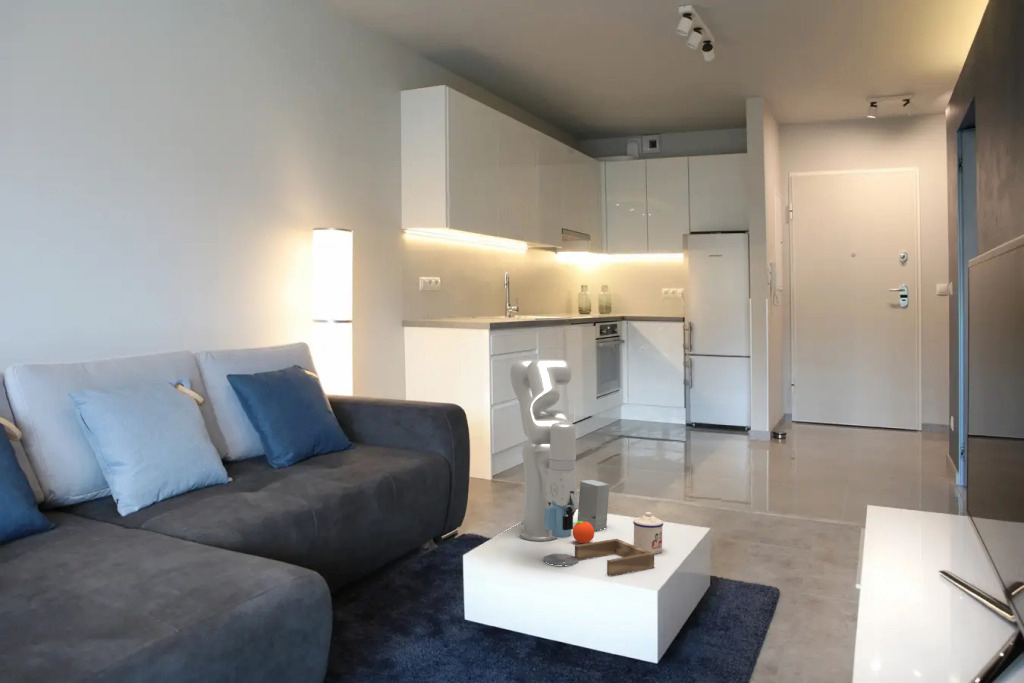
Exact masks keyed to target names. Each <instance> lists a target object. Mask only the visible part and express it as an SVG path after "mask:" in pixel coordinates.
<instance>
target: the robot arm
mask: <svg viewBox="0 0 1024 683" xmlns="http://www.w3.org/2000/svg"><path fill="white" fill-rule="evenodd" d="M509 371H510V376H509V377H510V383H511V387H512V390H513V392H514V394H515V396H516V398H517V400H518V404H519V409H520V417H521V424H522V430H523V433H524V435H525V436H526V438H528V441H526V442H525V443H524V444H523V446H522V448H521V449H522V450H521V456H522V461H523V463H522V464H523V471H524V473H523V474H524V504H523V505H524V507H523V508H524V510H523V511H524V512H523V516H524V517H523V519H521V520H520V524H521V525H523V528H522V529H520V530H519V532H518V536H519V538H522V539H523V540H528V541H535V542H546V541H552V540H555V539H558V537H554V536H552V530H549V531H548V530H546V529H544V523H545V508H551V507H552V501H554V502H556V505H558V506H561V507H563V510H564V516H563V530H571V531H572V530H573V528H574V524H573V523H574V516H575V513H576V511H578V507H579V502H578V501H577V499H578V488H577V486H578V484H577V476H576V459H577V453H576V442H577V441H576V438H577V437H576V435H577V434H576V432H577V430H576V426H575V424H574V423H572V421H571V420H570V417H569V414H567V413H566V412H565V411H564V410H560V409H554V410H553V409H551V410H550V409H549V408H552V407H554V406H555V405H556V404H557V403H558V401H560V399H561V398H560V397H561V396H560V394H561V393H560V391H559V387H558V386H562V385H564V386H566V385H569V383H570V382H571V380H572V368H571V366H570V363H569V362H568V361H567V360H565V359H562V358H560V359H558V358H557V359H556V358H555V359H553V358H552V359H551V358H547V359H546V358H539V359H537V358H536V359H534V358H533V359H531V358H529V359H527V358H526V359H520V360H516V361H514V362H513V363H512V364H511V366H510V370H509ZM568 503H570V505H567V504H568ZM567 507H569V510H568V511H567Z"/></svg>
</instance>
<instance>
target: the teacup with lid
mask: <svg viewBox="0 0 1024 683" xmlns="http://www.w3.org/2000/svg"><path fill="white" fill-rule="evenodd" d="M632 522H633V523H632V524H633V545H634V546H636V547H639V548H641V549H644V550H646V551H649V552H651V553H654V555H657V554H660V553H662V550H663V526H664V522H663V520H662V519H659V518H657V517H655V516H654V515H653V514H652V512H650V511H647V512H645V513H644V515H641V516H639V517H637V518H636V517H635V518H634V519H633V521H632Z"/></svg>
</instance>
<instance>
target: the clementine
mask: <svg viewBox="0 0 1024 683" xmlns="http://www.w3.org/2000/svg"><path fill="white" fill-rule="evenodd" d="M572 536H573V538H574V540H575V541H576V542H577V543H579V544H587V543H591V541H592V540H593V538H594V537H595V531H594V528H593V526H592V525H591V524H590V523H589V522H586V521H578V522H577V521H575V522H573V529H572Z"/></svg>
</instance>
